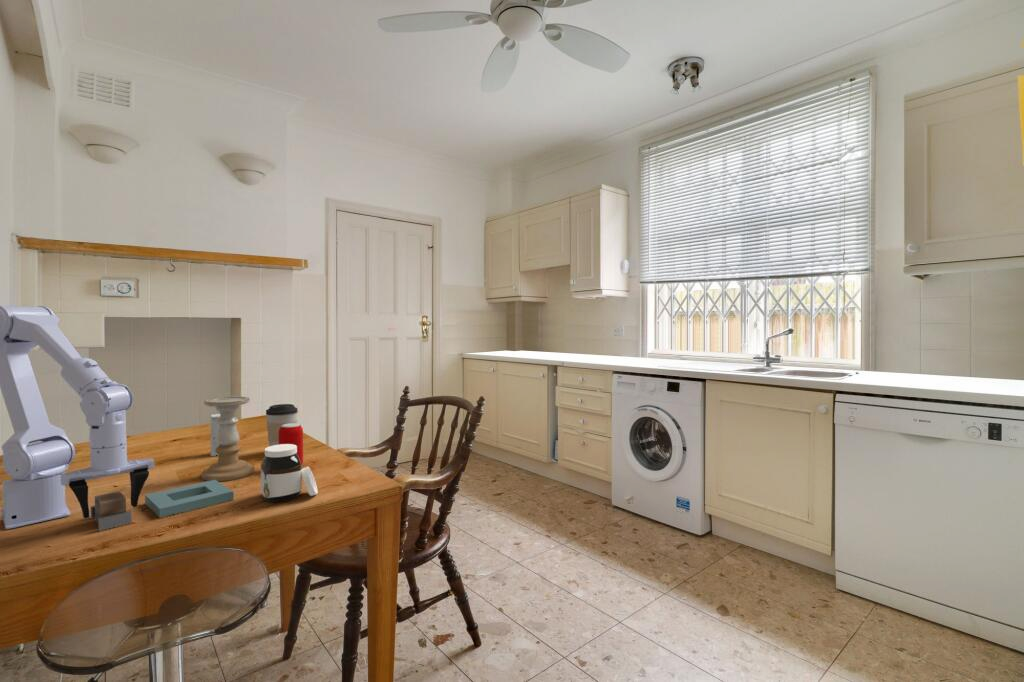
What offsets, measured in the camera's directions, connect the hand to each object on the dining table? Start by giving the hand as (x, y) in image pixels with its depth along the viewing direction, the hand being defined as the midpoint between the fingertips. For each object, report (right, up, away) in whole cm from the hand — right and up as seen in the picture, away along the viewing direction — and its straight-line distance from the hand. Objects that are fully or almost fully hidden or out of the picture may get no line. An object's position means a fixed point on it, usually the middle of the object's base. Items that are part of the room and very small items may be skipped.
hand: (110, 510), depth 99 cm
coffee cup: (+11, 0, +52) cm, 53 cm away
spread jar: (+30, -2, +15) cm, 34 cm away
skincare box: (-7, 0, +50) cm, 50 cm away
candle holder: (+6, -1, +30) cm, 31 cm away
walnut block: (0, -2, 0) cm, 2 cm away
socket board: (+9, -2, +11) cm, 14 cm away
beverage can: (+20, -1, +37) cm, 42 cm away
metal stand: (0, -2, 0) cm, 2 cm away
